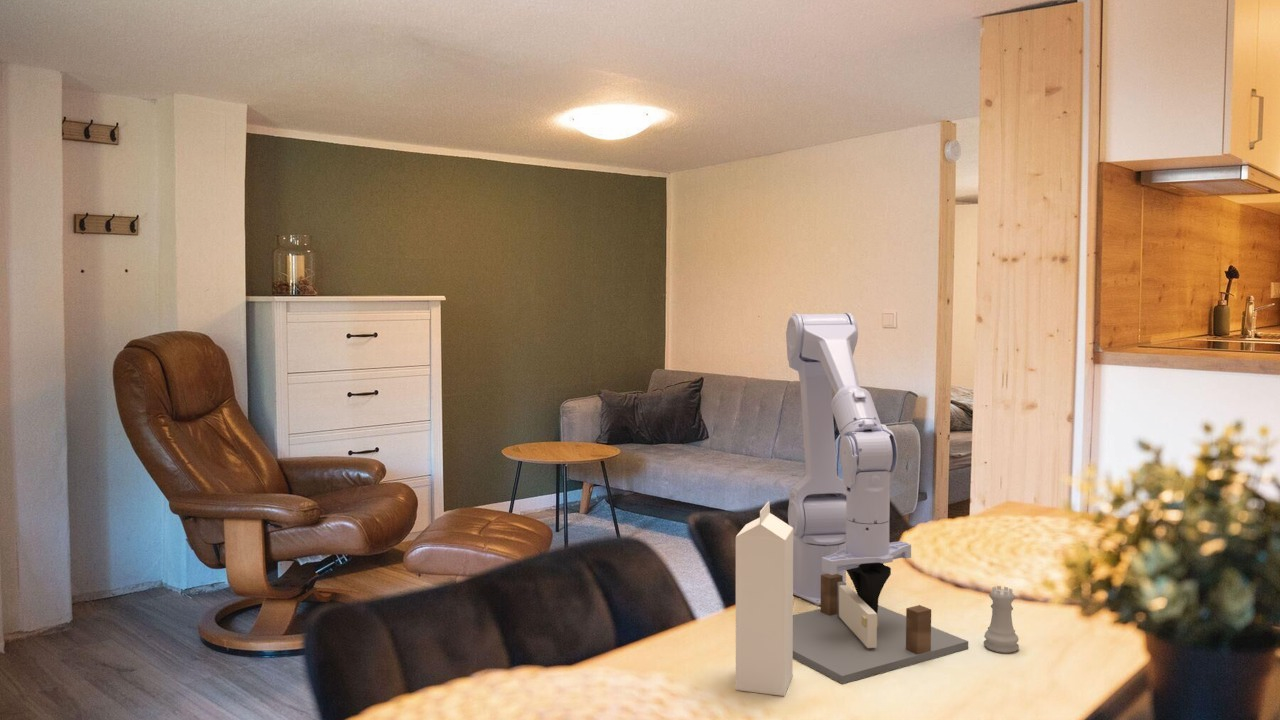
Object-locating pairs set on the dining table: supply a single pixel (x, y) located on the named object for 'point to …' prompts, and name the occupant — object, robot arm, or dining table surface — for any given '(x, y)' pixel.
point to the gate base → (861, 645)
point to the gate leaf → (857, 615)
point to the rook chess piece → (1001, 623)
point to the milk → (764, 605)
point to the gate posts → (915, 616)
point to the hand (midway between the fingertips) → (867, 616)
